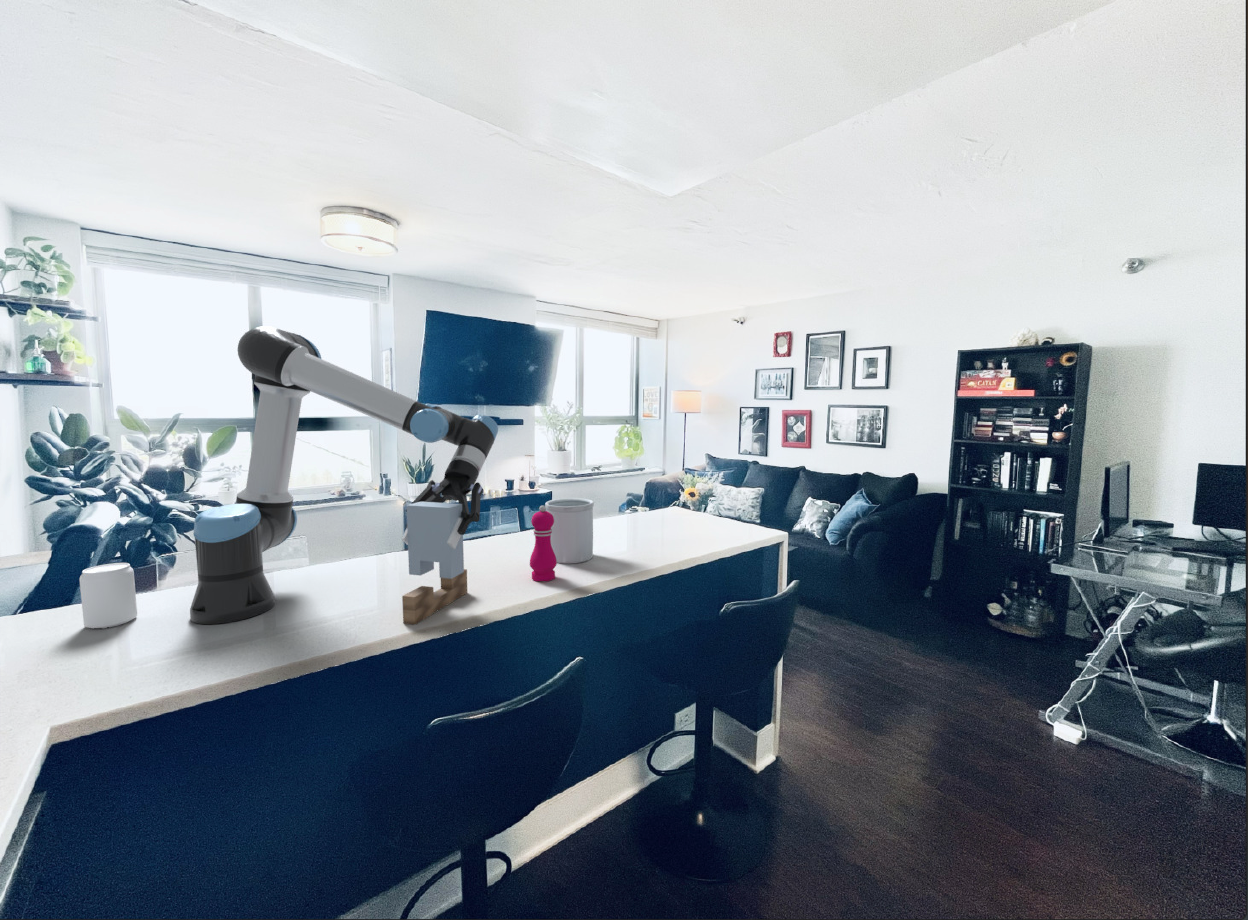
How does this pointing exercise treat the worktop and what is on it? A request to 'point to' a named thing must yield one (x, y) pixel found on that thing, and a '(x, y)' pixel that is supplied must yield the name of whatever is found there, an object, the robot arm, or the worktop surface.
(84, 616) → the beverage can
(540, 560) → the pepper mill
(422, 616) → the walnut slotted rail
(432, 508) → the tall grey pillar
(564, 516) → the utensil holder
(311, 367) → the robot arm
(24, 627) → the worktop surface
